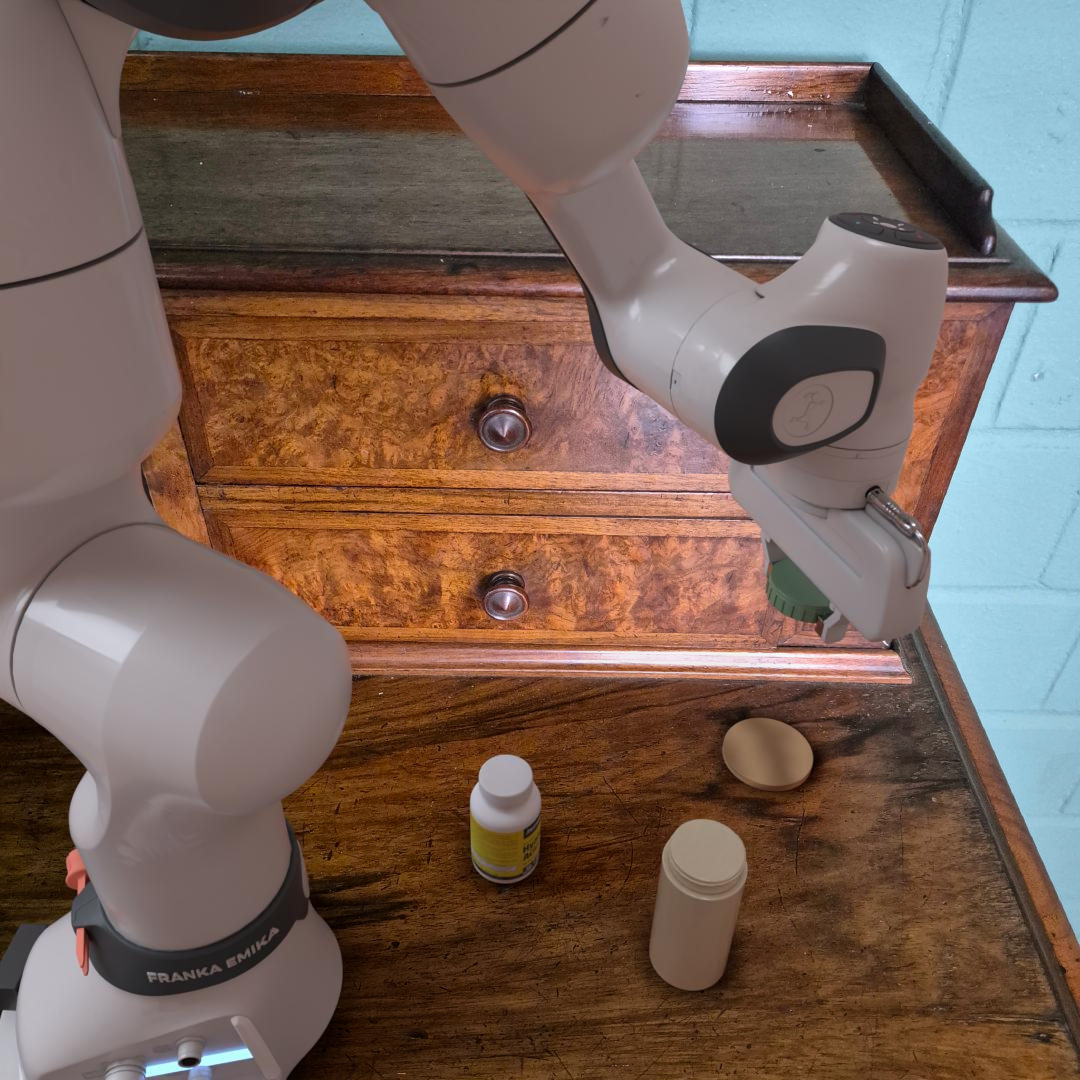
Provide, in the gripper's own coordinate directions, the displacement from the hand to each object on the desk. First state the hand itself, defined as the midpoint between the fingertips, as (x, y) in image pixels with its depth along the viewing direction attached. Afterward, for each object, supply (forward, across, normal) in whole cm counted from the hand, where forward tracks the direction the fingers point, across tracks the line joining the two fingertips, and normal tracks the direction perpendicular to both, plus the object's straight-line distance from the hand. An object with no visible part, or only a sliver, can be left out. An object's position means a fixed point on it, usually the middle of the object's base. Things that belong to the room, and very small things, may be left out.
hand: (801, 606), depth 74 cm
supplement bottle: (+17, -2, +25) cm, 31 cm away
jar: (+17, -14, +15) cm, 27 cm away
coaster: (+17, 0, 0) cm, 17 cm away
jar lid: (-2, 0, 0) cm, 2 cm away
